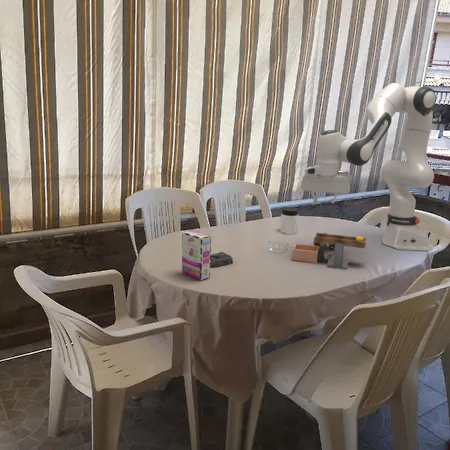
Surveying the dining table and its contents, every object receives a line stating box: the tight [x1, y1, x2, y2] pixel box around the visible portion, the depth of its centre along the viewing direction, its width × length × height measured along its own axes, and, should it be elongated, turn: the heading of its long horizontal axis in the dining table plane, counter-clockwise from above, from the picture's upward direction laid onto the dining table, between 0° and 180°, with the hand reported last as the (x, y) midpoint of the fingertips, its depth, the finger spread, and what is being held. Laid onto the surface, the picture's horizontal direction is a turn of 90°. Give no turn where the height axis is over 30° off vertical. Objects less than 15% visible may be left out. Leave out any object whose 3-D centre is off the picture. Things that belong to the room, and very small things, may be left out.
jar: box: [279, 206, 300, 235], centre depth 233 cm, size 9×8×12 cm
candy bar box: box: [181, 229, 212, 281], centre depth 173 cm, size 11×5×16 cm, turn 45°
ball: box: [355, 235, 364, 241], centre depth 187 cm, size 3×3×3 cm
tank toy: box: [210, 251, 234, 269], centre depth 188 cm, size 12×10×5 cm
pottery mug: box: [313, 232, 335, 251], centre depth 210 cm, size 12×10×8 cm
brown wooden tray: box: [313, 232, 367, 249], centre depth 190 cm, size 20×9×3 cm, turn 73°
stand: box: [317, 243, 350, 270], centre depth 191 cm, size 12×13×10 cm
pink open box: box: [291, 243, 319, 264], centre depth 195 cm, size 10×8×5 cm
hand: (323, 202), depth 196 cm, fingers open, 6 cm apart
